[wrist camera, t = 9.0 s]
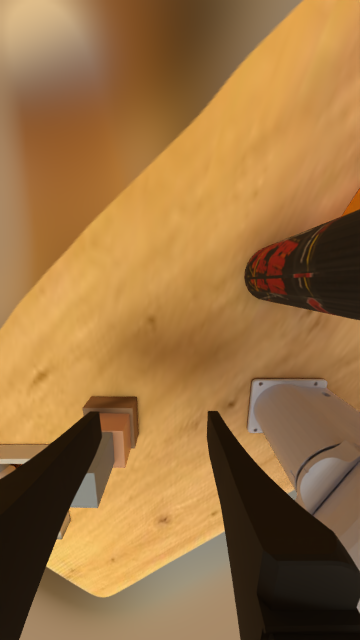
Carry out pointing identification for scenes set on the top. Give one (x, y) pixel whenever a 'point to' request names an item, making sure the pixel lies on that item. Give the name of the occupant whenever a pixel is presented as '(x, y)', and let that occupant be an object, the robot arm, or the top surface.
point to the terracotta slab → (118, 435)
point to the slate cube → (96, 475)
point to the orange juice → (353, 204)
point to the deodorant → (312, 269)
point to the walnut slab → (116, 410)
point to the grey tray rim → (20, 456)
